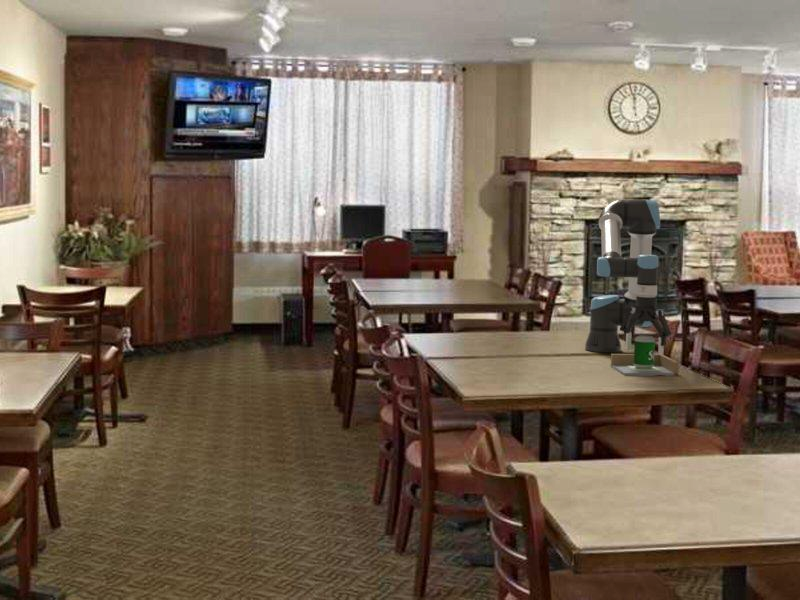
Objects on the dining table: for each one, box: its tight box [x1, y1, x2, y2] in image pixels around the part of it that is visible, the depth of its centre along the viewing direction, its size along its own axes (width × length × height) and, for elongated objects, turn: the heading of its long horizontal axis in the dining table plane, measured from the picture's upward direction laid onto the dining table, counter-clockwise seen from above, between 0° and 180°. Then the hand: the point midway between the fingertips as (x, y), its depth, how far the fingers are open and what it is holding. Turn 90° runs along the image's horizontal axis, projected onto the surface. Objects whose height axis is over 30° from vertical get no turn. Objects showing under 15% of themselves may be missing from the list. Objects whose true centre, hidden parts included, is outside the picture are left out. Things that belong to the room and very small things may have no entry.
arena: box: [610, 353, 680, 377], centre depth 400 cm, size 20×20×5 cm
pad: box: [627, 366, 661, 371], centre depth 400 cm, size 10×10×1 cm
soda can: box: [633, 335, 656, 369], centre depth 400 cm, size 8×8×12 cm
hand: (644, 352), depth 400 cm, fingers open, 13 cm apart
